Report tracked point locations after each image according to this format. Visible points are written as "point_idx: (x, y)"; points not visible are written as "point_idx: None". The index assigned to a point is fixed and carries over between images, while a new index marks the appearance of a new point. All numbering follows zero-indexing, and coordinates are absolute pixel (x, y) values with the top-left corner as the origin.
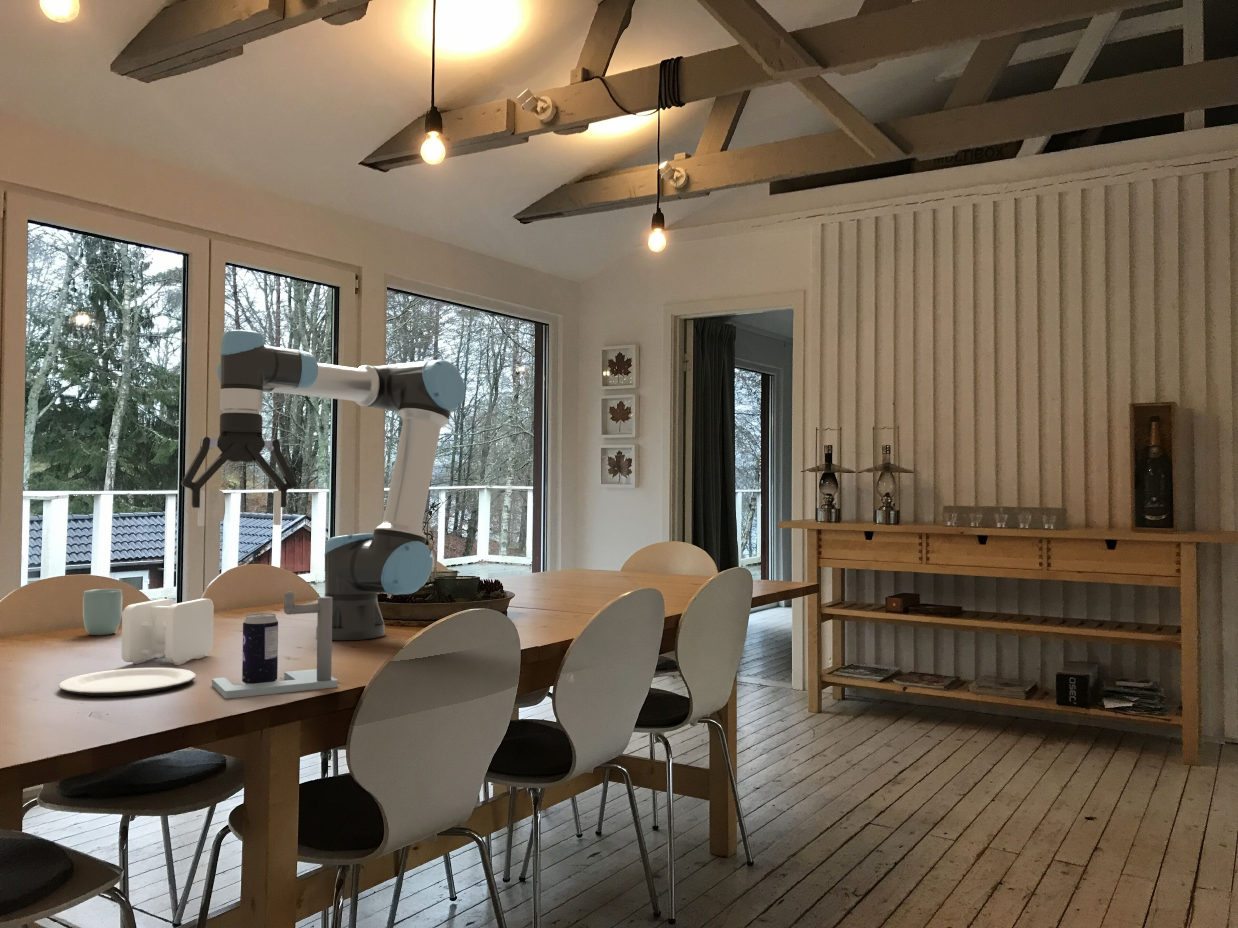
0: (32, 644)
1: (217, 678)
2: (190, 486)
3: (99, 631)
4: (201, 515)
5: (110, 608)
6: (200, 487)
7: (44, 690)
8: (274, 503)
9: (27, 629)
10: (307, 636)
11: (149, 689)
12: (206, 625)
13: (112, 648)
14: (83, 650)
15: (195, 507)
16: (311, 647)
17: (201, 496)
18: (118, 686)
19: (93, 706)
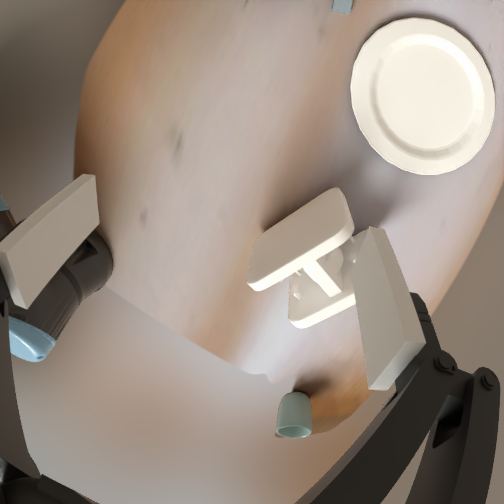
0: (363, 383)
1: (343, 8)
2: (459, 376)
3: (302, 393)
4: (389, 252)
5: (293, 410)
6: (426, 361)
7: (490, 148)
8: (53, 257)
9: (328, 427)
10: (120, 280)
11: (433, 20)
12: (266, 249)
13: (326, 337)
14: (352, 341)
15: (412, 293)
16: (130, 207)
17: (413, 316)
18: (444, 88)
19: (486, 22)
